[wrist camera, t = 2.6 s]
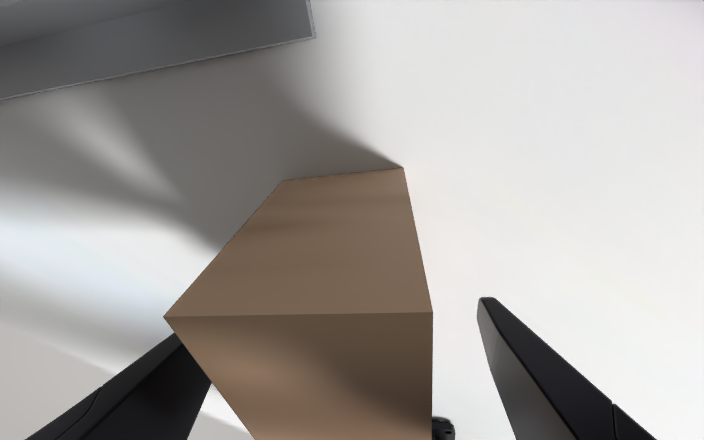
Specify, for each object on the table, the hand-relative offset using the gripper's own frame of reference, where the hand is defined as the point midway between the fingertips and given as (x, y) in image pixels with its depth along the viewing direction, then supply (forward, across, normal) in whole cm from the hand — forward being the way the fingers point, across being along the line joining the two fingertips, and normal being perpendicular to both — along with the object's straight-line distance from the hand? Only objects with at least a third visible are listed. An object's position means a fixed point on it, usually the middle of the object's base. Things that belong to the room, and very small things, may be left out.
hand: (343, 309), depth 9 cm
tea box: (+4, 0, 0) cm, 4 cm away
